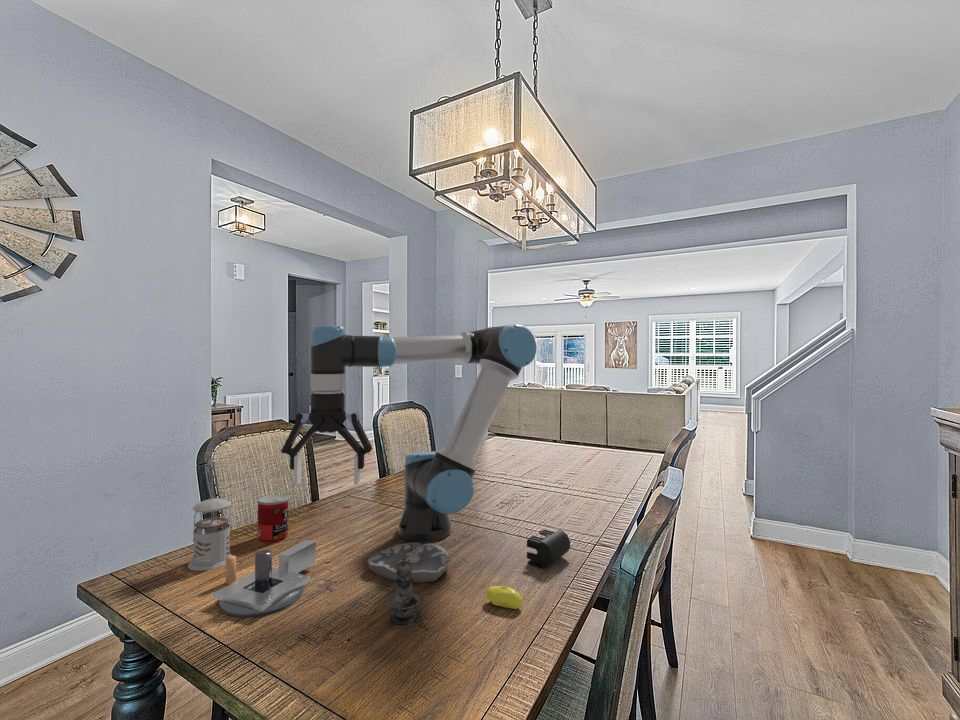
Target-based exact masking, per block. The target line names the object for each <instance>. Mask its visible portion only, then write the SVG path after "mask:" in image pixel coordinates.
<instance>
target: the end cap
mask: <svg viewBox="0 0 960 720" xmlns="http://www.w3.org/2000/svg"><path fill="white" fill-rule="evenodd" d="M539 535H541V536H544V537H540V536H537V535H536V536H535V535H532V536H531V537H529V538H527V539H526V547H527V548H529V549H533V550H535V551H536V553H533V552H530V551H526V559H528V561H527V565H528V566H531V567H534V568H538V569H540V570H541V569H542V570H544V569H546V568H548V567H549V566H550V565H552V564H553V563H555V562H556V561H557V560H559V559H560V558H562V557H563V556H565V554H567V553H568V552H569V551H570V548H571V540H570V538H569V536H568V534H567V533H566V532H565V531H563V530H561V529H558V530H557V531H552V530H548V529H542V530H540V531H539Z"/></svg>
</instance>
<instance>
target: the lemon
mask: <svg viewBox="0 0 960 720" xmlns="http://www.w3.org/2000/svg"><path fill="white" fill-rule="evenodd" d="M484 592H485V593H484V594H485V597H486V598H487V599H488V600H489V601H490V602H491V603H492V605H494V606H497V607H502V608H506V609H512V610H517V609H520V608H521V607H522V605H523V596H521V594H520V593H519V592H518V591H517V589H516V590H515V589H514V588H512V587H508V586H505V585H496V586H495V585H494V586H493V585H492V586H489V587H487V589H486V590H485V591H484Z"/></svg>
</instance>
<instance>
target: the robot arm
mask: <svg viewBox="0 0 960 720" xmlns="http://www.w3.org/2000/svg"><path fill="white" fill-rule="evenodd" d="M310 343H311V344H310V370H311V371H310V372H311V373H310V391H312V393H311V394H310V413H305V412H303V411H301V412H298V413H297V414H296V415H295V422H294V425H293V427H292V429H291V431H290V433H289V435H288V436H287V439H286V440H285V442H284V444H283V445H282V448H281V453H282V454H287V455H288V456H289V468H290V470H293V485H294V486H297V485H299V484H300V483H302V454H301V453H299V452H300V451H301V450H302V449H303V448H304V447H305V445H306V444H307V443H308V442H309V440H311V438H312V437H313V436H314V435H315V434H316V433H317V432H318V433H331V434H333V433H336V432H337V433H338V434H339V435H340V436H341V437H342V438H343V439H344V440H345V442H347V444H348V445H349V446H350V447H351V448H352V450H353V451H354V452H355V453H356V454H355V455H354V457H353V459H354V460H353V485H358V484H359V483H360V482H361V477H360V476H361V470H363V469H364V467H365V455H366V454H369V453H371V452H372V450H373V446H372V444H371V441H370V440H369V437H368V436H367V434H366V432H365V430H364V428H363V425H362V424H361V422H360V417H359V412H357V411H356V412H353V413H346V410H345V409H346V407H345V406H346V404H345V403H346V402H345V401H346V397H345V396H346V394H345V393H344V392H343V391H345V390H346V389H345V388H346V375H345V373H346V367H348V368H349V367H350V368H351V367H359V368H360V367H362V368H364V367H365V368H366V367H367V368H369V367H370V368H373V367H374V368H376V367H377V368H384V367H392V366H393V365H398V364H399V365H401V364H419V363H421V364H422V363H435V362H437V363H438V362H458V361H459V362H461V363H462V364H480V366H481V367H480V368H481V370H480V371H479V374H478V376H477V377H476V380H475V382H474V384H473V387H472V389H471V391H470V393H469V395H468V396H467V400H466V401H465V403H464V405H463V408H462V409H461V412H460V414H459V416H458V418H457V420H456V423H455V425H454V427H453V429H452V430H451V433H450V435H449V438H448V439H447V441H446V443H445V446H444V447H443V448H441V449H437V450H435V451H434V450H433V451H432V450H431V451H419V452H418V451H417V452H412V453H409V454H407V455H406V456H405V461H404V507H403V511H402V513H401V516H400V517H401V518H400V520H399V523H398V535H399V537H400V538H402V539H403V540H407V541H409V542H418V543H424V542H426V543H428V542H433V541H434V542H435V541H439V540H442V539H445V538H447V537H448V536H449V535H450V534H451V532H452V522H451V519H450V516H449V515H453V514H457V513H459V512H461V511H463V510H464V509H465V508H466V507H467V506H468V505H469V504H470V503H471V501H472V498H473V497H474V493H475V492H474V491H475V486H474V481H473V477H474V475H475V474H476V470H477V468H476V464H475V459H476V457H477V454H478V452H479V450H480V449H481V448H480V447H481V445H482V444H483V441H484V439H485V436H487V435H486V434H487V433H488V431H489V429H490V426H491V424H492V421H493V420H494V417H495V415H496V413H497V410H498V408H499V406H500V404H501V402H502V399H503V397H504V394H505V393H506V390H507V389H508V386H509V384H510V382H511V381H514V380H516V379H518V378H519V376H520V373H521V371H522V368H523V367H527V366H528V365H530V364H531V363H532V362H533V361H534V359H535V358H536V354H537V342H536V340H535V336H534V334H533V333H532V331H531V330H530V329H528V328H527V327H526V326H524V325H521V324H513V323H509V324H505V325H501V326H492V327H487V328H482V329H478V330H472V331H471V330H470V331H462V332H460V334H459V335H458V334H456V335H428V336H427V335H426V336H425V335H423V336H422V335H421V336H420V335H419V336H393V337H392V336H383V335H352V334H351V335H350V334H347V332H346V328H345V327H343V326H341V325H340V326H338V325H316V326H314V327H313V328H312V330H311V342H310ZM308 420H309V422H310V423H311V424H312V425H311V427H310V428H309V429H308V430H307V432H305V434H304V435H303V436H302V437H301V438H300V440H299V441H298V442H297V443H296V444H295V441H296V440H297V438H298V436H299V433H300V432H301V430H302V428H303V425H304V423H306V422H307V421H308ZM346 420H348V422H349V423H350V424H351V425H352V427H353V430H354V431H355V433H356V435H357V437H358V439H359V441H360V443H361V444H360V443H359V441H357V439H356V438H355V437H354V436H353V434H351V432H350V431H349V430H348V428H347V427H346V425H345V424H344V423H345V422H346ZM294 444H295V445H294ZM293 445H294V446H293Z"/></svg>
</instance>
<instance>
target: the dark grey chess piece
mask: <svg viewBox="0 0 960 720" xmlns="http://www.w3.org/2000/svg"><path fill="white" fill-rule="evenodd" d="M413 583H415V582H414V579H413V578H412V564H411V563H410V562H409V561H406V558H405V557H404V558H403V561H401V562H399V563H398V565H397V579H396V580H395V581H394V584H395V585H396V587H395V588H396V589H395V594H394V595H393V596H391V597H390V598H389V599H388V605H389V607H390V609H389V610H390V611H391V612H392V615H391V617H390V619H389V622H390V624H391V625H392V626H393V627H396V628H408V627H411V626H413V625H415V624H416V623H417V622H418V619H419V617H418V614H417V613H415V612H417V609H418V606H419V603H420V602H421V601H420V597H419V596H418V595H417V594H415V593H414V592H413Z"/></svg>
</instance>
